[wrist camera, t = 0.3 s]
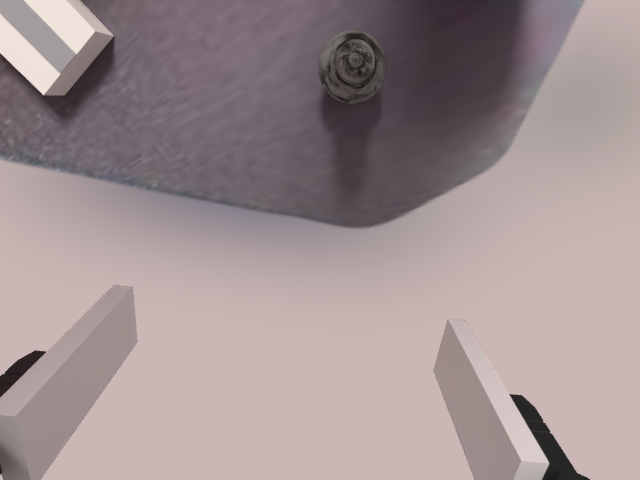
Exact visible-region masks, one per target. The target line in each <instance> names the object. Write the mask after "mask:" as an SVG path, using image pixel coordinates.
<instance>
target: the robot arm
mask: <svg viewBox="0 0 640 480" xmlns="http://www.w3.org/2000/svg"><path fill="white" fill-rule="evenodd" d="M136 343H137V332H136V319H135V307H134V295H133V287H128V286H118V285H114V286H113V287H112V288H111V289H110V290H109V291H108V292H107V293H105V295H103V297H101V299H100V300H98V302H96V303H95V304H94V305H93V306H92V308H90V310H88V311H87V312H86V313H85V314H84V315H83V316H82V317H81V318H80V319H79V320H78V321H77V322H76V323H75V324H74V325H73V326H72V327H71V328H70V329H69V330H68V331H67V332H66V333H65V334H64V335H63V336H62V337H61V338H60V339H59V340H58V341H57V342H56V343H55V344H54V345H53V346H52V347H51V348H50V349H49V350H48V351H47V352H44V351H33V352H32V353H30V354H28V355H26V356H25V357H23V358H21V359H19V360H18V361H16V362H15V363H14V364H13V365H12V366H11V367H10V368H9V369H8V370H7V371H6V372H5V374H2V375H1V376H0V474H2V477H3V480H41V478H42V477H43V475H44V474H45V473H46V471H47V470H48V468H49V467H50V466H51V464H52V463H53V461H54V460H55V459H56V457H57V456H58V454H59V453H60V451H61V450H62V449H63V447H64V446H65V444H66V443H67V441H68V440H69V438H70V437H71V436H72V434H73V433H74V432H75V430H76V428H77V427H78V426H79V424H80V423H81V422H82V420H83V419H84V417H85V416H86V414H87V413H88V411H89V410H90V409H91V407H92V406H93V404H94V403H95V402H96V400H97V399H98V397H99V396H100V395H101V393H102V392H103V390H104V389H105V387H106V386H107V385H108V383H109V382H110V380H111V379H112V378H113V376H114V375H115V373H116V372H117V370H118V369H119V368H120V366H121V365H122V363H123V362H124V360H125V359H126V357H127V356H128V355H129V353H130V352H131V350H132V349H133V348H134V346H135V344H136ZM434 373H435V376H436V378H437V381H438V384H439V387H440V389H441V392H442V395H443V397H444V400H445V402H446V405H447V408H448V411H449V413H450V416H451V418H452V421H453V424H454V427H455V429H456V432H457V435H458V437H459V440H460V443H461V445H462V448H463V450H464V453H465V456H466V458H467V461H468V464H469V466H470V469H471V472H472V474H473V477H474V480H590V479H588V478H587V477H584V476H582V475H580V474H578V473H577V472H576V471H575V469H574V468H573V466H572V464H571V463H570V462H569V460H568V458H567V457H566V455H565V453H564V452H563V450H562V449H561V447H560V446H559V444H558V443H557V441H556V440H555V438H554V436H553V435H552V434H550V430H549V429H548V427H547V426H546V424H545V423H543V419H542V418H541V416H540V415H539V413H538V412H537V410H536V409H535V407H534V406H533V405H532V404H531V403H530V402H529V401H527V400H526V399H525V398H524V397H523V396H522V395H512V394H509V393H508V392H507V390H506V388H505V387H504V385H503V383H502V381H501V380H500V378H499V376H498V375H497V373H496V371H495V370H494V368H493V366H492V365H491V363H490V361H489V359H488V358H487V356H486V354H485V352H484V351H483V349H482V348H481V346H480V344H479V342H478V341H477V339H476V337H475V336H474V334H473V332H472V330H471V329H470V327H469V325H468V324H467V322H466V321H465V320H456V319H448V320H447V324H446V327H445V331H444V335H443V338H442V342H441V345H440V349H439V352H438V356H437V359H436V363H435V367H434Z"/></svg>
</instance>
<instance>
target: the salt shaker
mask: <svg viewBox="0 0 640 480" xmlns="http://www.w3.org/2000/svg"><path fill="white" fill-rule="evenodd" d="M385 74H386V58H385V54H384V51H383V49H382V47H381V45H380V44H379V43H378V41H377V40H376V39H375V38H374V37H372V36H371V35H369V34H367V33H366V32H362V31H358V30H351V31H345V32H342V33H339V34H338V35H336V36H335V37H333V38H332V39H331V40H330V41H329V42H328V43H327V45H326V46H325V47H324V49H323V51H322V54H321V56H320V61H319V76H320V79H321V83H322V85H323V87H324V88H325V90H326V92H327V93H328V94H329V95H330V96H331V97H333V98H334V99H336V100H338V101H340V102H343V103H347V104H356V103H360V102H363V101H366V100H367V99H369V98H370V97H372V96H373V95H374V94H375V93H376V92H377V91H378V90H379V88H380V87H381V85H382V83H383V81H384V78H385Z"/></svg>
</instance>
